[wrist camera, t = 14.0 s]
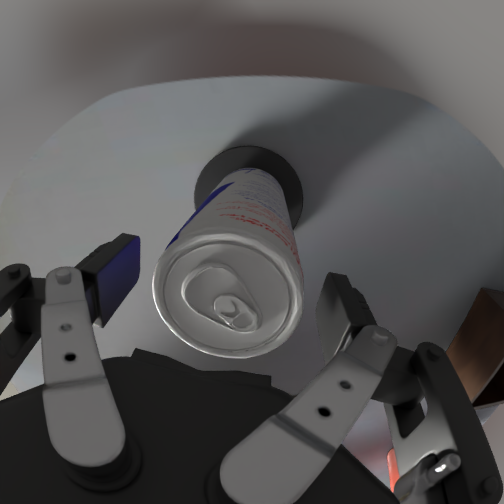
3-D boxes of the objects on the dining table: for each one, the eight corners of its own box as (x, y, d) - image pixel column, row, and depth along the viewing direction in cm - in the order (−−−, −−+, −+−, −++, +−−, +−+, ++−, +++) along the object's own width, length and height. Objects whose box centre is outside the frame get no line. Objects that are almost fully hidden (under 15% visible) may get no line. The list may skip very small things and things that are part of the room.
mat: (203, 138, 22) (202, 138, 22) (313, 157, 22) (313, 158, 22) (190, 239, 26) (188, 241, 25) (289, 257, 26) (289, 260, 26)
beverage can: (221, 161, 22) (149, 213, 9) (290, 174, 23) (327, 245, 9) (211, 226, 25) (149, 346, 11) (276, 238, 25) (285, 371, 11)
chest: (480, 364, 32) (504, 403, 24) (436, 366, 31) (460, 413, 23) (521, 295, 27) (555, 330, 19) (481, 287, 26) (521, 329, 18)
